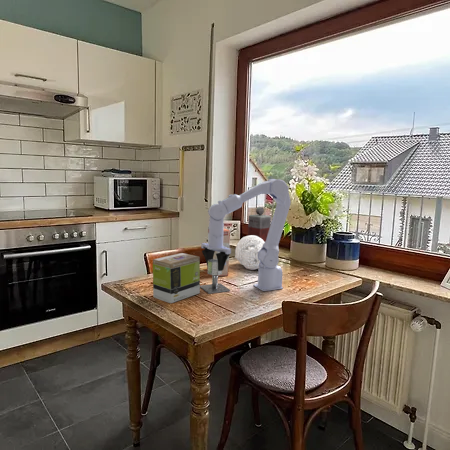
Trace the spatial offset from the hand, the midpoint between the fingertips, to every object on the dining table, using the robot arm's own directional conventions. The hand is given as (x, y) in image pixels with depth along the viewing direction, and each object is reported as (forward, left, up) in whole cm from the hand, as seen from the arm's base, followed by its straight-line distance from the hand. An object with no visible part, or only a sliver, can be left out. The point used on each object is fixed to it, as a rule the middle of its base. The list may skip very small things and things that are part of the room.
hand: (215, 268), depth 142 cm
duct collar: (0, 0, -2) cm, 2 cm away
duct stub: (0, 0, -8) cm, 8 cm away
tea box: (+16, +2, -8) cm, 19 cm away
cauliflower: (-33, -24, -8) cm, 41 cm away
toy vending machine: (-46, -44, -8) cm, 65 cm away
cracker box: (-12, -22, -8) cm, 26 cm away
